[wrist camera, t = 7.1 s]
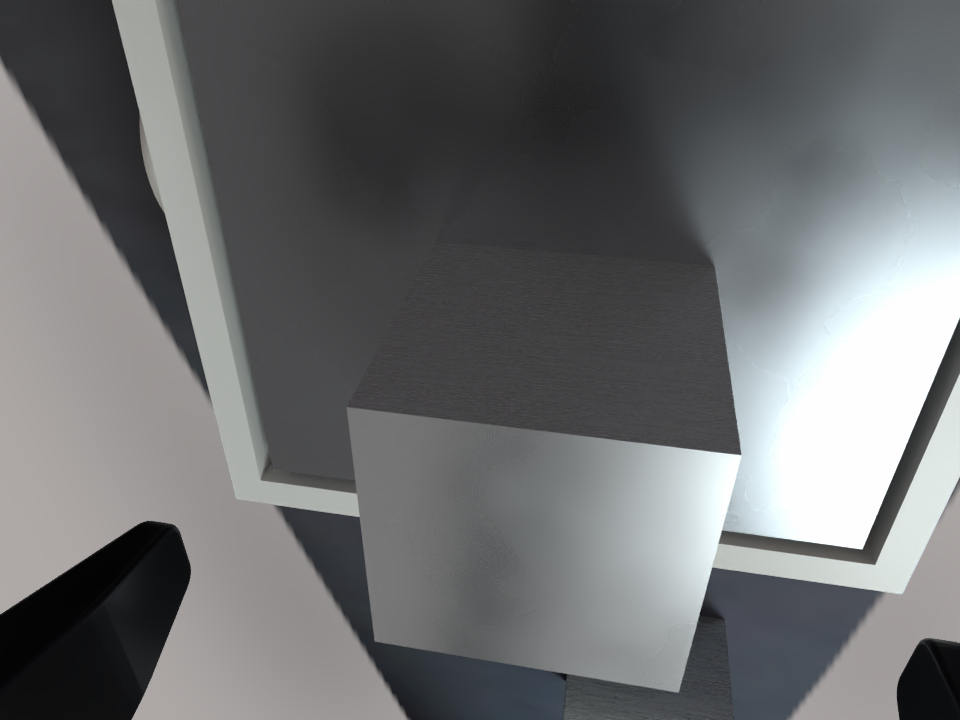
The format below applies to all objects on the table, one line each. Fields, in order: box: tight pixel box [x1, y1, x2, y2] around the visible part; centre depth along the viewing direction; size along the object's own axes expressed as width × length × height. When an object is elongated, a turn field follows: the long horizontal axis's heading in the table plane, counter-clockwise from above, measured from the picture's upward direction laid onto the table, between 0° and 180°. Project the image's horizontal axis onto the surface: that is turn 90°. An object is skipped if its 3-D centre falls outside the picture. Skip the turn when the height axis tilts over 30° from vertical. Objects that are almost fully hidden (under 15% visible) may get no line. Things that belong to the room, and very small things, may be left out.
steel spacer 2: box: [562, 616, 734, 720], centre depth 23 cm, size 4×4×4 cm
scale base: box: [112, 0, 960, 594], centre depth 14 cm, size 15×14×4 cm
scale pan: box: [177, 0, 960, 549], centre depth 12 cm, size 13×12×1 cm
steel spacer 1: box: [347, 242, 742, 693], centre depth 12 cm, size 4×4×4 cm
